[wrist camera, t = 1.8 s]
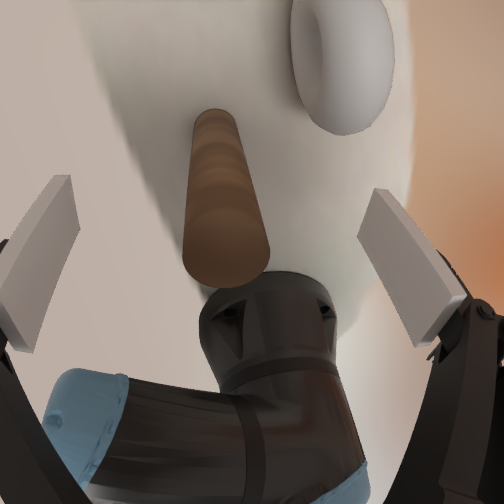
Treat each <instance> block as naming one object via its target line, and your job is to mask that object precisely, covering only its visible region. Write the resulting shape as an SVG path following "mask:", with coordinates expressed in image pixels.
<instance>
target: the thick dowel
mask: <svg viewBox="0 0 504 504" xmlns="http://www.w3.org/2000/svg"><path fill="white" fill-rule="evenodd" d="M182 258H183V264H184V266H185V269H186V270H187V272H188V273H189V274H190V275H191V276H192V277H193V278H194V279H195V280H197V281H198V282H200V283H202V284H204V285H207V286H211V287H215V288H232V287H237V286H241V285H244V284H246V283H249V282H250V281H252V280H254V279H255V278H257V277H258V276H259V275H260V274H261V273H262V272H263V271H264V269H265V268H266V266H267V264H268V262H269V258H270V247H269V243H268V239H267V236H266V232H265V228H264V224H263V221H262V217H261V213H260V209H259V206H258V202H257V198H256V195H255V191H254V187H253V184H252V180H251V176H250V173H249V169H248V165H247V162H246V158H245V155H244V151H243V147H242V144H241V140H240V137H239V133H238V130H237V126H236V122H235V120H234V118H233V117H232V116H231V115H230V114H229V113H228V112H226V111H224V110H221V109H210V110H207V111H205V112H203V113H202V114H201V115H200V116H199V117H198V118H197V120H196V122H195V125H194V132H193V141H192V149H191V159H190V168H189V178H188V188H187V200H186V211H185V224H184V238H183V254H182Z"/></svg>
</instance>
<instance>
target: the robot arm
mask: <svg viewBox="0 0 504 504" xmlns="http://www.w3.org/2000/svg"><path fill="white" fill-rule="evenodd" d="M79 230H80V226H79V222H78V216H77V211H76V206H75V201H74V196H73V189H72V184H71V177H70V175H55V176H54V177H53V178H52V179H51V181H50V182H49V183H48V184H47V186H46V187H45V189H44V190H43V191H42V192H41V194H40V195H39V197H38V198H37V200H36V201H35V202H34V203H33V205H32V206H31V208H30V209H29V210H28V212H27V213H26V215H25V216H24V218H23V219H22V221H21V222H20V224H19V225H18V227H17V228H16V230H15V231H14V233H13V234H12V236H11V237H10V239H8V240H7V239H4V240H3V241H2V242H1V243H0V496H1V498H2V500H3V501H4V503H5V504H366V503H367V501H368V499H369V497H370V483H369V479H368V473H367V469H366V467H367V461H366V458H365V455H364V452H363V449H362V445H361V442H360V439H359V436H358V432H357V429H356V426H355V423H354V420H353V417H352V413H351V411H350V408H349V404H348V401H347V398H346V395H345V392H344V389H343V386H342V383H341V380H340V377H339V373H338V370H337V367H336V362H335V361H336V335H337V317H336V311H335V308H334V306H333V303H332V300H331V298H330V295H329V293H328V292H327V290H326V289H325V288H324V287H323V286H322V285H321V284H320V283H318V282H317V281H315V280H313V279H311V278H309V277H306V276H303V275H299V274H295V273H286V272H271V273H262V274H260V275H259V276H258V277H257V278H255V279H254V280H252V281H250V282H249V283H246V284H244V285H241V286H237V287H232V288H222V289H220V290H219V291H218V292H216V293H215V294H214V295H213V296H212V297H211V298H210V299H209V300H208V301H207V302H206V304H205V305H204V307H203V308H202V311H201V313H200V317H199V338H200V343H201V347H202V349H203V351H204V353H205V356H206V358H207V360H208V363H209V365H210V367H211V369H212V371H213V373H214V376H215V378H216V380H217V382H218V384H219V388H220V393H216V392H208V391H200V390H194V389H188V388H181V387H175V386H169V385H164V384H158V383H153V382H148V381H143V380H138V379H133V378H128V376H127V375H124V374H115V375H113V374H107V373H102V372H97V371H91V370H86V369H81V368H74V369H70V370H68V371H66V372H64V373H63V374H62V375H61V376H60V377H59V379H58V380H57V382H56V383H55V386H54V388H53V390H52V393H51V396H50V398H49V401H48V404H47V407H46V411H45V414H44V417H43V421H42V425H41V424H40V422H39V420H38V418H37V417H36V414H35V413H34V411H33V409H32V407H31V405H30V403H29V401H28V399H27V396H26V394H25V392H24V390H23V388H22V386H21V384H20V381H19V379H18V377H17V374H16V372H15V370H14V367H13V365H12V362H11V360H10V357H9V355H8V353H7V352H6V351H5V347H6V344H7V341H9V343H10V344H11V346H12V347H13V349H14V350H15V351H21V352H27V353H33V351H34V348H35V345H36V341H37V338H38V335H39V332H40V329H41V326H42V323H43V320H44V317H45V314H46V311H47V308H48V305H49V303H50V300H51V297H52V295H53V292H54V289H55V286H56V284H57V281H58V279H59V276H60V274H61V271H62V269H63V266H64V264H65V262H66V259H67V257H68V255H69V253H70V250H71V248H72V246H73V243H74V241H75V239H76V237H77V235H78V232H79ZM357 238H358V239H359V241H360V243H361V245H362V246H363V248H364V250H365V252H366V253H367V255H368V257H369V259H370V261H371V262H372V264H373V266H374V268H375V270H376V272H377V274H378V275H379V277H380V279H381V281H382V282H383V285H384V287H385V289H386V290H387V292H388V294H389V296H390V298H391V300H392V302H393V304H394V306H395V308H396V310H397V312H398V314H399V316H400V318H401V320H402V322H403V324H404V326H405V328H406V330H407V333H408V335H409V337H410V339H411V341H412V343H413V345H414V347H421V346H427V345H430V344H431V342H432V341H433V340H434V339H435V337H436V336H437V335H438V336H439V338H440V340H441V342H440V343H439V344H438V345H437V346H436V348H435V349H434V350H433V351H432V352H431V354H430V355H429V356H428V358H427V360H430V359H431V357H432V356H434V360H433V361H432V363H433V365H432V369H431V373H430V377H429V381H428V384H427V388H426V392H425V396H424V399H423V402H422V405H421V409H420V412H419V415H418V418H417V421H416V424H415V427H414V430H413V433H412V436H411V439H410V442H409V444H408V447H407V450H406V452H405V455H404V458H403V460H402V463H401V465H400V468H399V471H398V472H397V475H396V477H395V480H394V482H393V484H392V486H391V489H390V491H389V493H388V495H387V497H386V499H385V501H384V503H383V504H504V366H502V363H501V361H502V360H503V359H504V316H501V315H497V314H496V313H495V311H494V309H493V308H492V307H491V306H490V305H489V304H488V303H487V302H485V301H484V300H481V299H473V297H472V295H471V294H470V293H469V291H468V290H467V288H466V287H465V285H464V283H463V282H462V281H461V279H460V278H459V276H458V275H456V272H455V270H454V269H453V268H451V265H450V263H449V262H448V261H447V259H446V258H445V257H444V256H443V255H442V254H441V253H440V252H439V251H437V250H436V249H435V248H434V247H433V245H432V244H431V242H430V241H429V240H428V238H427V237H426V236H425V235H424V233H423V232H422V231H421V229H420V228H419V227H418V226H417V224H416V223H415V222H414V220H413V219H412V218H411V217H410V216H409V215H408V213H407V212H406V211H405V209H404V208H403V207H402V206H401V205H400V203H399V202H398V201H397V200H396V199H395V197H394V196H393V195H392V194H391V193H390V192H389V190H385V189H377V188H374V191H373V194H372V197H371V200H370V202H369V205H368V208H367V211H366V213H365V216H364V219H363V222H362V224H361V227H360V230H359V232H358V235H357Z"/></svg>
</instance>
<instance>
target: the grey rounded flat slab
mask: <svg viewBox="0 0 504 504" xmlns="http://www.w3.org/2000/svg"><path fill="white" fill-rule="evenodd" d="M290 33H291V52H292V62H293V68H294V74H295V80H296V84H297V88H298V92H299V95H300V98H301V101H302V103H303V106H304V108H305V109H306V111H307V113H308V114H309V116H310V117H311V119H312V121H313V122H314V123H316V124H317V125H318V126H319V127H321V128H322V129H324V130H326V131H328V132H330V133H332V134H334V135H341V136H345V135H350V134H354V133H357V132H360V131H363V130H365V129H366V128H368V127H370V126H371V124H372V123H373V122H374V121H375V119H376V118H377V117H378V115H379V114H380V113H381V111H382V110H383V109H384V107H385V104H386V102H387V99H388V96H389V93H390V90H391V88H392V81H393V73H394V65H395V54H394V40H393V32H392V28H391V24H390V21H389V17H388V14H387V10H386V8H385V6H384V4H383V3H382V1H381V0H293V5H292V11H291V25H290Z"/></svg>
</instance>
